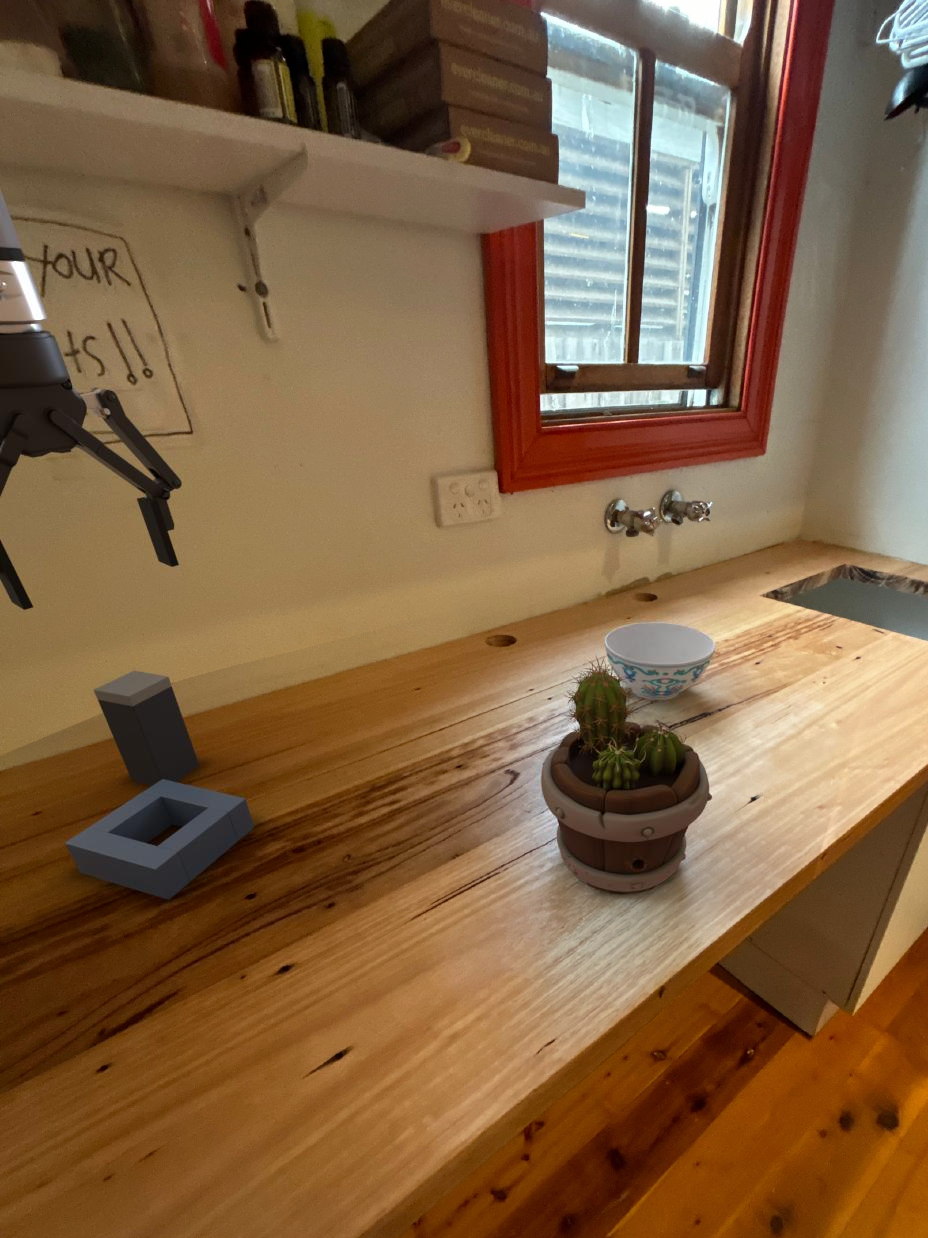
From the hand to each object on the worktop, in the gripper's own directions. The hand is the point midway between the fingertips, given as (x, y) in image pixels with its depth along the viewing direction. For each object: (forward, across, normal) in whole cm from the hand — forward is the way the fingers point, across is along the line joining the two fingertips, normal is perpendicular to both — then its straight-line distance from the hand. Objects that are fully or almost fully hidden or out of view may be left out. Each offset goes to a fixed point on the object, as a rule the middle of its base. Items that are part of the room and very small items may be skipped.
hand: (101, 583), depth 63 cm
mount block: (+21, -8, -15) cm, 27 cm away
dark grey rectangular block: (+22, -2, -2) cm, 23 cm away
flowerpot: (+20, +16, -52) cm, 58 cm away
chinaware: (+23, +50, -38) cm, 67 cm away
